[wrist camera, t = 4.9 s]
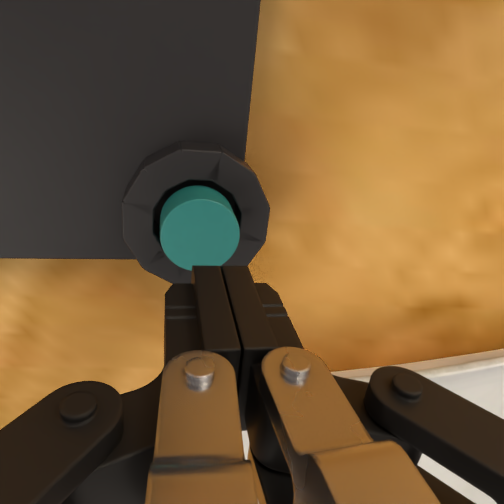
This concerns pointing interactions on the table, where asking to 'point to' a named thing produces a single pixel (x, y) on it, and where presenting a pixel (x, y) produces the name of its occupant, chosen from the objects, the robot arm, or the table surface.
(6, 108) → the scale
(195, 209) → the button
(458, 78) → the table surface
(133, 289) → the table surface
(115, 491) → the robot arm
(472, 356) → the square plate
